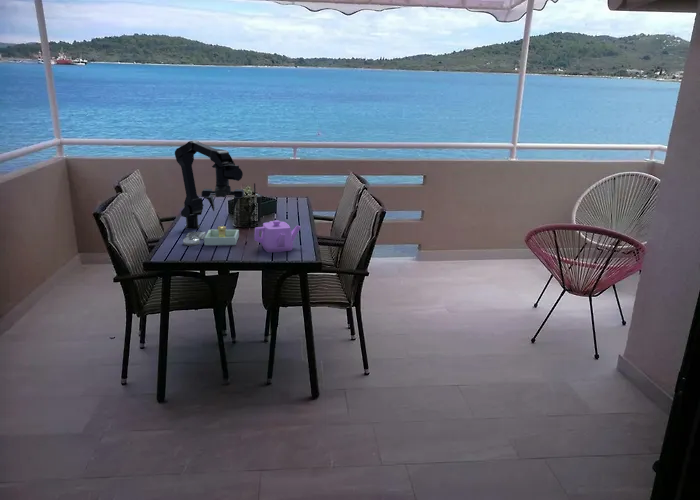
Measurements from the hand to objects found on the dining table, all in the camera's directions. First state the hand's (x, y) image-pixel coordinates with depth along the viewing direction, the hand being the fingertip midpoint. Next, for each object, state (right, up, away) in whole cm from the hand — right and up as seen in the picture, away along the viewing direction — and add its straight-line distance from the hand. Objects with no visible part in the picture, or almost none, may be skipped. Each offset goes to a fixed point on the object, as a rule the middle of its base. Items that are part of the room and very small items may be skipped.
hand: (223, 211), depth 235 cm
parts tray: (0, -14, -5) cm, 15 cm away
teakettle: (+27, -17, -12) cm, 34 cm away
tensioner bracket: (-13, -14, -5) cm, 19 cm away
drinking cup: (+9, -3, +32) cm, 34 cm away
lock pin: (+1, -13, -5) cm, 14 cm away
